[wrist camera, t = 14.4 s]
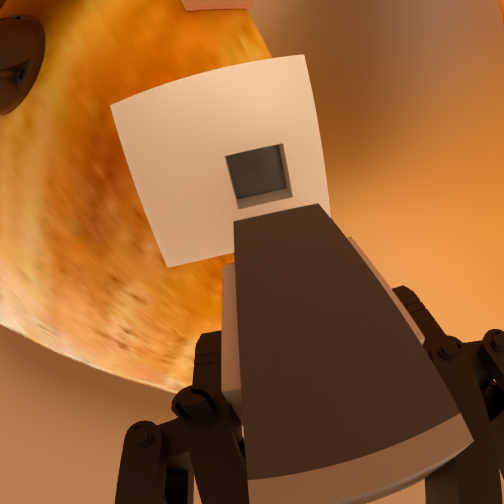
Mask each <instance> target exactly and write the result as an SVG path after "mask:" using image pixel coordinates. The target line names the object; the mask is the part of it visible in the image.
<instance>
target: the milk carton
mask: <svg viewBox="0 0 504 504" xmlns="http://www.w3.org/2000/svg"><path fill="white" fill-rule="evenodd" d="M181 2H182V4H183V6H184V8H185V10H186V11H194V10H209V9H250V8H251V6H252V3H253V0H181Z"/></svg>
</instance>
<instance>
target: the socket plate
mask: <svg viewBox="0 0 504 504" xmlns="http://www.w3.org/2000/svg"><path fill="white" fill-rule="evenodd" d="M110 107H111V111H112V114H113V118H114V121H115V125H116V128H117V132H118V135H119V138H120V142H121V145H122V148H123V151H124V154H125V157H126V160H127V163H128V166H129V169H130V172H131V175H132V178H133V181H134V184H135V187H136V190H137V192H138V195H139V198H140V201H141V203H142V206H143V209H144V211H145V214H146V216H147V219H148V222H149V224H150V227H151V229H152V232H153V234H154V237H155V239H156V242H157V244H158V246H159V249H160V251H161V254H162V256H163V258H164V261H165V263H166V265H167V268H170V267H174V266H178V265H183V264H187V263H191V262H196V261H200V260H204V259H208V258H213V257H217V256H221V255H226V254H230V253H234V229H233V221H237V220H242V219H246V218H250V217H255V216H260V215H264V214H269V213H273V212H278V211H283V210H287V209H292V208H297V207H302V206H307V205H312V204H317V203H319V205H320V206H321V207H322V208H323V209H324V211H325V212H326V213H327V214H328V215H329V217H330V218H331V215H330V205H329V196H328V187H327V179H326V173H325V164H324V157H323V151H322V144H321V138H320V132H319V126H318V120H317V114H316V109H315V104H314V99H313V93H312V89H311V84H310V79H309V74H308V70H307V66H306V61H305V57H304V55H295V56H286V57H279V58H271V59H265V60H259V61H253V62H247V63H242V64H237V65H232V66H228V67H223V68H219V69H215V70H211V71H207V72H203V73H199V74H196V75H192V76H189V77H185V78H182V79H179V80H176V81H173V82H169V83H166V84H163V85H161V86H158V87H155V88H152V89H149V90H147V91H144V92H141V93H139V94H136V95H134V96H131V97H129V98H126V99H124V100H121V101H119V102H117V103H114V104H112V105H110Z"/></svg>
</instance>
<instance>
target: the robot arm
mask: <svg viewBox="0 0 504 504" xmlns="http://www.w3.org/2000/svg"><path fill="white" fill-rule="evenodd" d="M6 1H7V0H0V9H1V7H2V6H3V5H4V3H5V2H6ZM44 47H45V36H44V31H43V28H42V25H41V24H40V22H39V21H38V20H37V19H35V18H33V17H30V16H26V15H13V16H10V17H5V18H1V19H0V115H4V114H6V113H8V112H10V111H12V110H13V109H14V108H15V107H17V106H18V105H19V104H20V102H21V101H22V100H23V99H24V98H25V96H26V95H27V93H28V92H29V90H30V89H31V87H32V85H33V83H34V81H35V79H36V77H37V74H38V72H39V69H40V66H41V63H42V59H43V54H44ZM347 239H348V240H349V242H350V243H351V244H352V245H353V247H354V248H355V249H356V251H357V252H358V253H359V255H360V256H361V257H362V258H363V260H364V261H365V262H366V264H367V265H368V267H369V268H370V269H371V271H372V272H373V273H374V275H375V276H376V277H377V279H378V280H379V282H380V283H381V284H382V286H383V287H384V289H385V290H386V291H387V293H388V294H389V296H390V297H391V299H392V300H393V301H394V303H395V304H396V306H397V307H398V309H399V310H400V312H401V313H402V315H403V316H404V318H405V319H406V321H407V322H408V324H409V325H410V327H411V328H412V330H413V332H414V333H415V335H416V336H417V338H418V339H419V341H420V343H421V344H422V346H423V347H424V349H425V351H426V352H427V354H428V356H429V357H430V359H431V361H432V362H433V364H434V366H435V367H436V369H437V371H438V373H439V374H440V376H441V378H442V380H443V381H444V383H445V385H446V387H447V389H448V390H449V392H450V394H451V396H452V398H453V400H454V402H455V403H456V405H457V407H458V409H459V411H460V413H461V415H462V417H463V419H464V421H465V423H466V425H467V427H468V429H469V431H470V434H471V436H472V438H473V440H474V441H473V442H472V443H471V444H470V445H469V446H467V447H466V448H465V449H464V450H463V451H461V452H460V453H459V454H458V455H456V456H455V457H454V458H452V459H451V460H450V461H448V462H447V463H446V464H444V465H443V466H442V467H440V468H439V469H437V470H436V471H434V472H433V473H432V474H430V475H429V476H427V477H426V478H425V493H426V504H502V490H501V480H500V472H499V469H500V471H501V474H502V476H503V479H504V331H502V330H499V329H492V330H489V331H488V332H487V333H486V334H485V335H484V337H483V340H481V341H474V342H468V343H462V342H461V341H460V340H458V339H457V338H455V337H453V336H447V335H446V334H445V333H444V332H443V330H442V329H441V328H440V326H439V325H438V323H437V322H436V321H435V319H434V318H433V316H432V315H431V314H430V313H429V311H428V310H427V309H425V306H424V305H423V303H422V302H420V299H419V298H418V297H417V295H416V294H415V293H414V292H413V291H412V290H410V289H408V288H407V287H405V286H399V287H397V288H393V289H391V288H390V287H389V285H388V284H387V282H386V281H385V280H384V278H383V277H382V276H381V274H380V273H379V272H378V270H377V269H376V268H375V266H373V264H372V263H371V261H370V260H369V259H368V258H367V256H366V255H365V254H364V252H363V251H362V250H361V249H360V247H359V246H358V245H357V244H356V242H355V241H354V240H353V239H352V237H348V238H347ZM493 379H495V381H496V382H495V381H494V380H493ZM171 410H172V411H173V412H174V413H175V414H176V415H177V416H178V418H176V419H174V420H172V421H169V422H166V423H163V424H160V425H156V424H154V423H153V422H150V421H140V422H137V423H135V424H133V425H132V426H131V427H130V428H129V429H128V430H127V433H126V435H125V439H124V445H123V451H122V456H121V462H120V469H119V475H118V482H117V490H116V497H115V504H193V492H194V476H195V480H196V484H197V487H198V491H199V495H200V498H201V502H202V504H250V503H249V491H248V479H247V467H246V454H245V440H244V438H243V436H242V427H241V424H242V426H243V411H242V396H241V379H240V362H239V344H238V324H237V304H236V281H235V263H231V264H226V265H223V279H222V330H221V331H215V332H209V333H203V334H201V336H200V338H199V340H198V341H197V343H196V348H195V359H194V371H193V383H192V385H191V386H188V387H186V388H184V389H182V390H181V391H179V392H178V393H177V394H176V395H175V397H174V399H173V401H172V409H171ZM243 427H244V426H243Z"/></svg>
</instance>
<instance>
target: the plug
mask: <svg viewBox="0 0 504 504" xmlns="http://www.w3.org/2000/svg"><path fill="white" fill-rule="evenodd" d="M233 229H234V256H235V281H236V304H237V324H238V344H239V362H240V379H241V396H242V411H243V426H244V440H245V454H246V467H247V479H248V491H249V503H250V504H366V503H369V502H372V501H375V500H378V499H381V498H383V497H386V496H389V495H391V494H394V493H396V492H398V491H401V490H403V489H406V488H408V487H410V486H412V485H415V484H416V483H418V482H420V481H421V480H423V479H424V478H426V477H427V476H429V475H430V474H432V473H433V472H434V471H436V470H437V469H439V468H440V467H442V466H443V465H444V464H446V463H447V462H448V461H450V460H451V459H452V458H454V457H455V456H456V455H458V454H459V453H460V452H461V451H463V450H464V449H465V448H466V447H467V446H469V445H470V444H471V443H472V442H473V441H474V440H473V438H472V436H471V434H470V431H469V429H468V427H467V425H466V423H465V421H464V419H463V417H462V415H461V413H460V411H459V409H458V407H457V405H456V403H455V402H454V400H453V398H452V396H451V394H450V392H449V390H448V389H447V387H446V385H445V383H444V381H443V380H442V378H441V376H440V374H439V373H438V371H437V369H436V367H435V366H434V364H433V362H432V361H431V359H430V357H429V356H428V354H427V352H426V351H425V349H424V347H423V346H422V344H421V343H420V341H419V339H418V338H417V336H416V335H415V333H414V332H413V330H412V328H411V327H410V325H409V324H408V322H407V321H406V319H405V318H404V316H403V315H402V313H401V312H400V310H399V309H398V307H397V306H396V304H395V303H394V301H393V300H392V299H391V297H390V296H389V294H388V293H387V291H386V290H385V289H384V287H383V286H382V284H381V283H380V282H379V280H378V279H377V277H376V276H375V275H374V273H373V272H372V271H371V269H370V268H369V267H368V265H367V264H366V262H365V261H364V260H363V258H362V257H361V256H360V255H359V253H358V252H357V251H356V249H355V248H354V247H353V245H352V244H351V243H350V242H349V240H348V239H347V238H346V237H345V235H344V234H343V233H342V231H341V230H340V229H339V228H338V226H337V225H336V224H335V223H334V221H333V220H332V219H331V218H330V217H329V215H328V214H327V213H326V212H325V211H324V209H323V208H322V207H321V206H320V205H319V203H317V204H312V205H307V206H302V207H297V208H292V209H287V210H283V211H278V212H273V213H269V214H264V215H260V216H255V217H250V218H246V219H242V220H237V221H233Z"/></svg>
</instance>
